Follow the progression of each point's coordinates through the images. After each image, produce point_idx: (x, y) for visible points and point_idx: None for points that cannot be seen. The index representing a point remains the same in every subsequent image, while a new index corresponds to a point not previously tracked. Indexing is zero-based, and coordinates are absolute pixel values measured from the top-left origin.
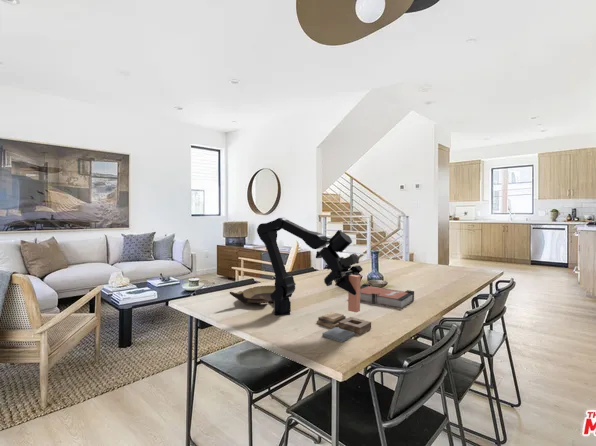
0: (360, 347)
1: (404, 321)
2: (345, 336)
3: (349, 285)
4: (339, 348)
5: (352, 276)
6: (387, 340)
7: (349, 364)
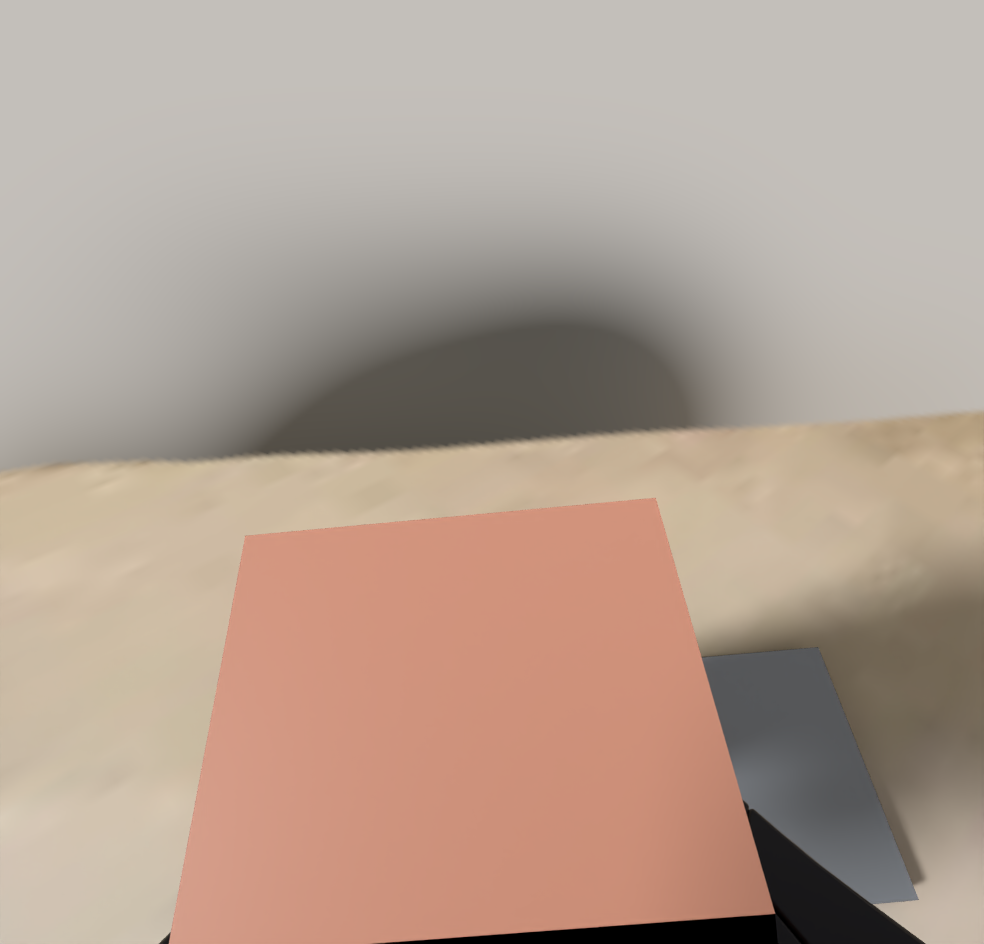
0: (738, 512)
1: (73, 564)
2: (751, 664)
3: (780, 844)
4: (884, 593)
5: (751, 902)
6: (510, 465)
7: (942, 432)
